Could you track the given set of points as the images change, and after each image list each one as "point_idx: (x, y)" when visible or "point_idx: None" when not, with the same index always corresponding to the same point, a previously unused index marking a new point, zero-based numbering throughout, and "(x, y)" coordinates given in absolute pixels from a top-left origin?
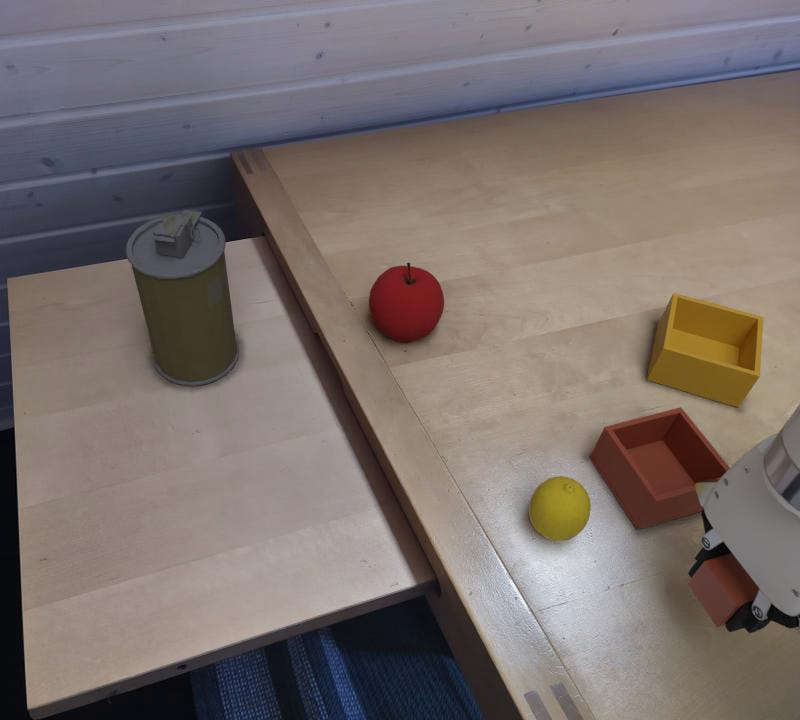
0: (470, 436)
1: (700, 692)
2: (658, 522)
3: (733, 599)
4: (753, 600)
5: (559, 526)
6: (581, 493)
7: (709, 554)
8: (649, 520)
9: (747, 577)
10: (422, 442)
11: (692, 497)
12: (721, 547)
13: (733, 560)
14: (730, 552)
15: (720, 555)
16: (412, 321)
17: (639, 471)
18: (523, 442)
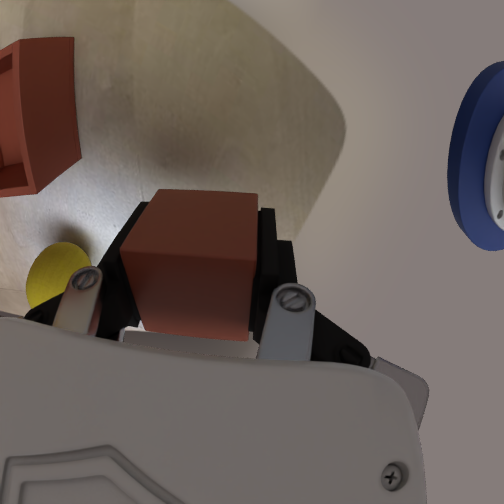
0: (7, 264)
1: (290, 205)
2: (74, 129)
3: (233, 339)
4: (249, 317)
5: None
6: (42, 302)
7: (132, 322)
8: (68, 155)
9: (195, 296)
10: (21, 296)
11: (37, 110)
12: (119, 321)
13: (148, 291)
14: (128, 286)
15: (134, 303)
16: None
17: (2, 192)
18: (2, 225)
